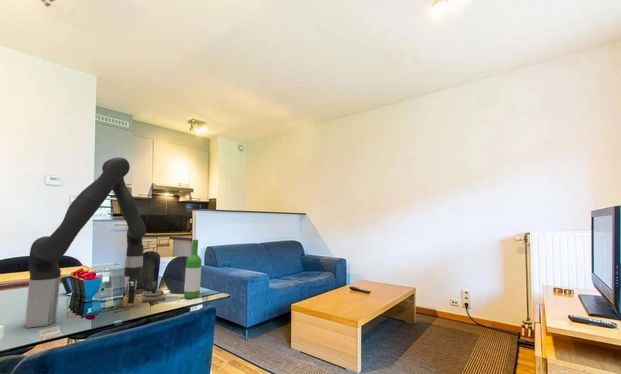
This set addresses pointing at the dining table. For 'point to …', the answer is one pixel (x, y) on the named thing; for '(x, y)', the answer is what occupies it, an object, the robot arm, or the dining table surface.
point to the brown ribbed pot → (126, 304)
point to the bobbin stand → (153, 295)
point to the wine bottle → (193, 273)
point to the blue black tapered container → (69, 284)
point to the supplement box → (98, 295)
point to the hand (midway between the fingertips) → (130, 301)
